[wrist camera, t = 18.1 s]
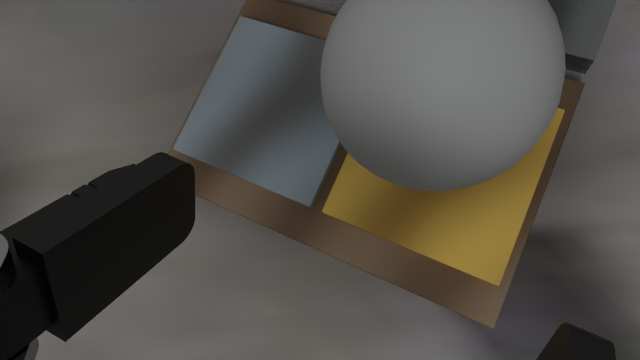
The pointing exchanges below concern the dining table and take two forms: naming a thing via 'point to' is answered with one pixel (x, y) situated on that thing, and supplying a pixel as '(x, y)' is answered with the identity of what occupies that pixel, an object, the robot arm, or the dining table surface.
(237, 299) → the dining table surface
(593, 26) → the mounted unit
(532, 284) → the dining table surface
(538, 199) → the board
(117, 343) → the dining table surface
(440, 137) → the lightbulb
